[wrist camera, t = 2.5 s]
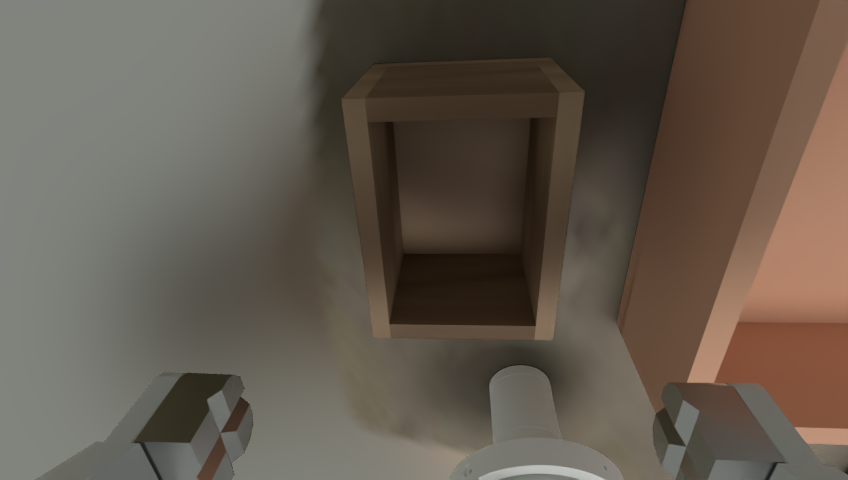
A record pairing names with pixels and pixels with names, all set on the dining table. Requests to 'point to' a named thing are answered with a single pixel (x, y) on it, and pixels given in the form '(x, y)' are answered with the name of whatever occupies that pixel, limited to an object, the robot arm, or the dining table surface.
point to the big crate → (749, 213)
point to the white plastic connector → (530, 436)
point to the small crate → (463, 194)
